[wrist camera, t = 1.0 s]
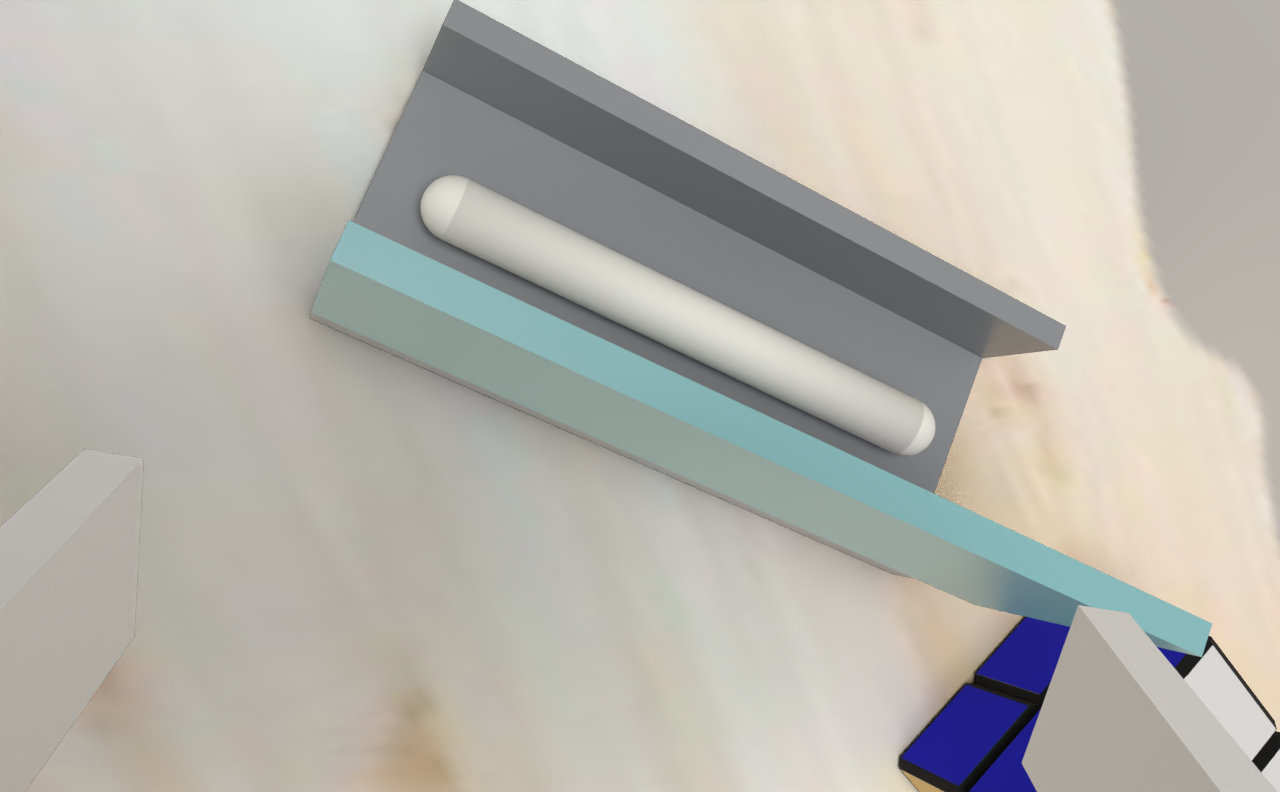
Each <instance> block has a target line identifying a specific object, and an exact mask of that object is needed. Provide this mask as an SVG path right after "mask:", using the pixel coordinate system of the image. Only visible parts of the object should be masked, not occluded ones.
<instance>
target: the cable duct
mask: <svg viewBox="0 0 1280 792" xmlns="http://www.w3.org/2000/svg"><path fill="white" fill-rule="evenodd" d="M448 175H458V176H463V177H465V178H468V179H470V180H472V181H474V182H476V183H478V184H480V185H482V186H484V187H486V188H488V189H490V190H493V191H495V192H497V193H499V194H501V195H503V196H505V197H507V198H509V199H511V200H513V201H515V202H517V203H519V204H521V205H523V206H525V207H527V208H529V209H531V210H533V211H535V212H537V213H539V214H541V215H543V216H545V217H547V218H549V219H551V220H553V221H556V222H558V223H560V224H562V225H564V226H566V227H568V228H570V229H572V230H574V231H576V232H578V233H580V234H582V235H584V236H586V237H588V238H590V239H592V240H594V241H596V242H598V243H600V244H602V245H604V246H606V247H608V248H610V249H612V250H614V251H616V252H619V253H621V254H623V255H625V256H627V257H629V258H631V259H633V260H635V261H637V262H639V263H641V264H643V265H645V266H647V267H649V268H651V269H653V270H655V271H657V272H659V273H661V274H663V275H665V276H667V277H669V278H671V279H673V280H675V281H677V282H679V283H682V284H684V285H686V286H688V287H690V288H692V289H694V290H696V291H698V292H700V293H702V294H704V295H706V296H708V297H710V298H712V299H714V300H716V301H718V302H720V303H722V304H724V305H726V306H728V307H730V308H732V309H734V310H736V311H738V312H740V313H742V314H745V315H747V316H749V317H751V318H753V319H755V320H757V321H759V322H761V323H763V324H765V325H767V326H769V327H771V328H773V329H775V330H777V331H779V332H781V333H783V334H785V335H787V336H789V337H791V338H793V339H795V340H797V341H799V342H801V343H803V344H805V345H808V346H810V347H812V348H814V349H816V350H818V351H820V352H822V353H824V354H826V355H828V356H830V357H832V358H834V359H836V360H838V361H840V362H842V363H844V364H846V365H848V366H850V367H852V368H854V369H856V370H858V371H860V372H862V373H864V374H866V375H868V376H871V377H873V378H875V379H877V380H879V381H881V382H883V383H885V384H887V385H889V386H891V387H893V388H895V389H897V390H899V391H901V392H903V393H905V394H907V395H909V396H911V397H913V398H915V399H917V400H919V401H921V402H922V403H924V404H925V405H926V406H927V407H928V408H929V409H930V411H931V412H932V414H933V416H934V420H935V434H934V437H933V439H932V441H931V443H930V444H929V446H928V447H927V448H926V449H924V450H923V451H921V452H920V453H917V454H915V455H910V456H901V455H896V454H894V453H891V452H889V451H887V450H885V449H883V448H881V447H879V446H876V445H874V444H872V443H870V442H868V441H866V440H864V439H862V438H860V437H857V436H855V435H853V434H851V433H849V432H847V431H845V430H843V429H841V428H838V427H836V426H834V425H832V424H830V423H828V422H826V421H824V420H821V419H819V418H817V417H815V416H813V415H811V414H809V413H807V412H805V411H802V410H800V409H798V408H796V407H794V406H792V405H790V404H788V403H786V402H783V401H781V400H779V399H777V398H775V397H773V396H771V395H769V394H767V393H764V392H762V391H760V390H758V389H756V388H754V387H752V386H750V385H748V384H745V383H743V382H741V381H739V380H737V379H735V378H733V377H731V376H729V375H726V374H724V373H722V372H720V371H718V370H716V369H714V368H712V367H710V366H707V365H705V364H703V363H701V362H699V361H697V360H695V359H693V358H691V357H688V356H686V355H684V354H682V353H680V352H678V351H676V350H674V349H671V348H669V347H667V346H665V345H663V344H661V343H659V342H657V341H655V340H652V339H650V338H648V337H646V336H644V335H642V334H640V333H638V332H636V331H633V330H631V329H629V328H627V327H625V326H623V325H621V324H619V323H617V322H614V321H612V320H610V319H608V318H606V317H604V316H602V315H600V314H598V313H595V312H593V311H591V310H589V309H587V308H585V307H583V306H581V305H579V304H576V303H574V302H572V301H570V300H568V299H566V298H564V297H562V296H560V295H557V294H555V293H553V292H551V291H549V290H547V289H545V288H543V287H541V286H538V285H536V284H534V283H532V282H530V281H528V280H526V279H524V278H522V277H519V276H517V275H515V274H513V273H511V272H509V271H507V270H505V269H502V268H500V267H498V266H496V265H494V264H492V263H490V262H488V261H486V260H483V259H481V258H479V257H477V256H475V255H473V254H471V253H469V252H467V251H464V250H462V249H460V248H458V247H456V246H454V245H452V244H450V243H448V242H445V241H443V240H441V239H439V238H438V237H436V236H434V235H433V234H432V233H431V232H430V231H429V230H428V228H427V227H426V226H425V224H424V222H423V220H422V216H421V208H420V206H421V199H422V197H423V194H424V192H425V190H426V189H427V187H428V186H429V185H430V184H431V183H432V182H434V181H435V180H437V179H439V178H441V177H444V176H448ZM354 223H356V224H358V225H360V226H362V227H364V228H367V229H369V230H371V231H373V232H375V233H377V234H379V235H381V236H384V237H386V238H388V239H390V240H392V241H394V242H396V243H399V244H401V245H403V246H405V247H407V248H409V249H411V250H414V251H416V252H418V253H420V254H422V255H424V256H426V257H429V258H431V259H433V260H435V261H437V262H439V263H441V264H444V265H446V266H448V267H450V268H452V269H454V270H456V271H459V272H461V273H463V274H465V275H467V276H469V277H471V278H474V279H476V280H478V281H480V282H482V283H484V284H486V285H488V286H491V287H493V288H495V289H497V290H499V291H501V292H503V293H506V294H508V295H510V296H512V297H514V298H516V299H518V300H521V301H523V302H525V303H527V304H529V305H531V306H533V307H536V308H538V309H540V310H542V311H544V312H546V313H548V314H551V315H553V316H555V317H557V318H559V319H561V320H563V321H566V322H568V323H570V324H572V325H574V326H576V327H578V328H580V329H583V330H585V331H587V332H589V333H591V334H593V335H595V336H598V337H600V338H602V339H604V340H606V341H608V342H610V343H613V344H615V345H617V346H619V347H621V348H623V349H625V350H628V351H630V352H632V353H634V354H636V355H638V356H640V357H643V358H645V359H647V360H649V361H651V362H653V363H655V364H658V365H660V366H662V367H664V368H666V369H668V370H670V371H673V372H675V373H677V374H679V375H681V376H683V377H685V378H687V379H690V380H692V381H694V382H696V383H698V384H700V385H702V386H705V387H707V388H709V389H711V390H713V391H715V392H717V393H720V394H722V395H724V396H726V397H728V398H730V399H732V400H735V401H737V402H739V403H741V404H743V405H745V406H747V407H750V408H752V409H754V410H756V411H758V412H760V413H762V414H765V415H767V416H769V417H771V418H773V419H775V420H777V421H779V422H782V423H784V424H786V425H788V426H790V427H792V428H794V429H797V430H799V431H801V432H803V433H805V434H807V435H809V436H812V437H814V438H816V439H818V440H820V441H822V442H824V443H827V444H829V445H831V446H833V447H835V448H837V449H839V450H842V451H844V452H846V453H848V454H850V455H852V456H854V457H857V458H859V459H861V460H863V461H865V462H867V463H869V464H872V465H874V466H876V467H878V468H880V469H882V470H884V471H886V472H889V473H891V474H893V475H895V476H897V477H899V478H901V479H904V480H906V481H908V482H910V483H912V484H914V485H916V486H919V487H921V488H923V489H925V490H927V491H929V492H931V493H934V492H935V489H936V486H937V484H938V481H939V478H940V475H941V472H942V470H943V467H944V464H945V461H946V458H947V456H948V453H949V450H950V447H951V444H952V442H953V439H954V436H955V433H956V430H957V428H958V425H959V422H960V419H961V416H962V413H963V411H964V408H965V405H966V402H967V399H968V397H969V394H970V391H971V388H972V385H973V383H974V380H975V377H976V374H977V371H978V369H979V366H980V363H981V360H982V358H987V357H996V356H1005V355H1014V354H1022V353H1031V352H1040V351H1048V350H1057V349H1058V348H1059V345H1060V342H1061V339H1062V336H1063V333H1064V330H1065V328H1066V326H1065V325H1063V324H1061V323H1059V322H1057V321H1055V320H1054V319H1052V318H1050V317H1048V316H1046V315H1044V314H1042V313H1041V312H1039V311H1037V310H1035V309H1033V308H1031V307H1029V306H1027V305H1026V304H1024V303H1022V302H1020V301H1018V300H1016V299H1014V298H1013V297H1011V296H1009V295H1007V294H1005V293H1003V292H1001V291H999V290H998V289H996V288H994V287H992V286H990V285H988V284H986V283H985V282H983V281H981V280H979V279H977V278H975V277H973V276H972V275H970V274H968V273H966V272H964V271H962V270H960V269H958V268H957V267H955V266H953V265H951V264H949V263H947V262H945V261H944V260H942V259H940V258H938V257H936V256H934V255H932V254H930V253H929V252H927V251H925V250H923V249H921V248H919V247H917V246H916V245H914V244H912V243H910V242H908V241H906V240H904V239H902V238H901V237H899V236H897V235H895V234H893V233H891V232H889V231H888V230H886V229H884V228H882V227H880V226H878V225H876V224H874V223H873V222H871V221H869V220H867V219H865V218H863V217H861V216H860V215H858V214H856V213H854V212H852V211H850V210H848V209H847V208H845V207H843V206H841V205H839V204H837V203H835V202H833V201H832V200H830V199H828V198H826V197H824V196H822V195H820V194H819V193H817V192H815V191H813V190H811V189H809V188H807V187H805V186H804V185H802V184H800V183H798V182H796V181H794V180H792V179H791V178H789V177H787V176H785V175H783V174H781V173H779V172H777V171H776V170H774V169H772V168H770V167H768V166H766V165H764V164H763V163H761V162H759V161H757V160H755V159H753V158H751V157H749V156H748V155H746V154H744V153H742V152H740V151H738V150H736V149H735V148H733V147H731V146H729V145H727V144H725V143H723V142H721V141H720V140H718V139H716V138H714V137H712V136H710V135H708V134H707V133H705V132H703V131H701V130H699V129H697V128H695V127H694V126H692V125H690V124H688V123H686V122H684V121H682V120H680V119H679V118H677V117H675V116H673V115H671V114H669V113H667V112H666V111H664V110H662V109H660V108H658V107H656V106H654V105H652V104H651V103H649V102H647V101H645V100H643V99H641V98H639V97H638V96H636V95H634V94H632V93H630V92H628V91H626V90H624V89H623V88H621V87H619V86H617V85H615V84H613V83H611V82H610V81H608V80H606V79H604V78H602V77H600V76H598V75H596V74H595V73H593V72H591V71H589V70H587V69H585V68H583V67H582V66H580V65H578V64H576V63H574V62H572V61H570V60H569V59H567V58H565V57H563V56H561V55H559V54H557V53H555V52H554V51H552V50H550V49H548V48H546V47H544V46H542V45H541V44H539V43H537V42H535V41H533V40H531V39H529V38H527V37H526V36H524V35H522V34H520V33H518V32H516V31H514V30H513V29H511V28H509V27H507V26H505V25H503V24H501V23H499V22H498V21H496V20H494V19H492V18H490V17H488V16H486V15H485V14H483V13H481V12H479V11H477V10H475V9H473V8H471V7H470V6H468V5H466V4H464V3H462V2H460V1H458V0H454V1H453V3H452V5H451V7H450V10H449V12H448V14H447V16H446V18H445V20H444V23H443V25H442V27H441V29H440V32H439V34H438V36H437V39H436V41H435V43H434V46H433V48H432V50H431V53H430V55H429V57H428V60H427V62H426V64H425V66H424V69H423V71H422V73H421V75H420V78H419V80H418V82H417V84H416V86H415V89H414V91H413V93H412V95H411V97H410V99H409V102H408V104H407V106H406V108H405V110H404V113H403V115H402V117H401V119H400V121H399V123H398V126H397V128H396V130H395V132H394V134H393V137H392V139H391V141H390V143H389V145H388V147H387V150H386V152H385V154H384V156H383V158H382V161H381V163H380V165H379V167H378V169H377V171H376V174H375V176H374V178H373V180H372V182H371V185H370V187H369V189H368V191H367V193H366V195H365V198H364V200H363V202H362V204H361V206H360V209H359V211H358V213H357V215H356V217H355V219H354ZM310 319H313V320H315V321H317V322H319V323H322V324H324V325H326V326H329V327H331V328H333V329H335V330H338V331H340V332H342V333H345V334H347V335H349V336H351V337H354V338H356V339H358V340H360V341H363V342H365V343H367V344H370V345H372V346H374V347H376V348H379V349H381V350H383V351H386V352H388V353H390V354H392V355H395V356H397V357H399V358H401V359H404V360H406V361H408V362H411V363H413V364H415V365H417V366H420V367H422V368H424V369H427V370H429V371H431V372H433V373H436V374H438V375H440V376H442V377H445V378H447V379H449V380H452V381H454V382H456V383H458V384H461V385H463V386H465V387H468V388H470V389H472V390H474V391H477V392H479V393H481V394H484V395H486V396H488V397H490V398H493V399H495V400H497V401H499V402H502V403H504V404H506V405H509V406H511V407H513V408H515V409H518V410H520V411H522V412H525V413H527V414H529V415H531V416H534V417H536V418H538V419H540V420H543V421H545V422H547V423H550V424H552V425H554V426H556V427H559V428H561V429H563V430H566V431H568V432H570V433H572V434H575V435H577V436H579V437H581V438H584V439H586V440H588V441H591V442H593V443H595V444H597V445H600V446H602V447H604V448H607V449H609V450H611V451H613V452H616V453H618V454H620V455H622V456H625V457H627V458H629V459H632V460H634V461H636V462H638V463H641V464H643V465H645V466H648V467H650V468H652V469H654V470H657V471H659V472H661V473H663V474H666V475H668V476H670V477H673V478H675V479H677V480H679V481H682V482H684V483H686V484H689V485H691V486H693V487H695V488H698V489H700V490H702V491H704V492H707V493H709V494H711V495H714V496H716V497H718V498H720V499H723V500H725V501H727V502H730V503H732V504H734V505H736V506H739V507H741V508H743V509H745V510H748V511H750V512H752V513H755V514H757V515H759V516H761V517H764V518H766V519H768V520H771V521H773V522H775V523H777V524H780V525H782V526H784V527H787V528H789V529H791V530H793V531H796V532H798V533H800V534H802V535H805V536H807V537H809V538H812V539H814V540H816V541H818V542H821V543H823V544H825V545H828V546H830V547H832V548H834V549H837V550H839V551H841V552H843V553H846V554H848V555H850V556H853V557H855V558H857V559H859V560H862V561H864V562H866V563H869V564H871V565H873V566H875V567H878V568H880V569H882V570H884V571H887V572H889V573H891V574H895V575H900V576H905V577H909V578H913V577H910V576H908V575H906V574H904V573H901V572H899V571H897V570H895V569H892V568H890V567H888V566H886V565H883V564H881V563H879V562H876V561H874V560H872V559H870V558H867V557H865V556H863V555H861V554H858V553H856V552H854V551H851V550H849V549H847V548H845V547H842V546H840V545H838V544H836V543H833V542H831V541H829V540H826V539H824V538H822V537H820V536H817V535H815V534H813V533H811V532H808V531H806V530H804V529H802V528H799V527H797V526H795V525H792V524H790V523H788V522H786V521H783V520H781V519H779V518H777V517H774V516H772V515H770V514H767V513H765V512H763V511H761V510H758V509H756V508H754V507H752V506H749V505H747V504H745V503H742V502H740V501H738V500H736V499H733V498H731V497H729V496H727V495H724V494H722V493H720V492H718V491H715V490H713V489H711V488H708V487H706V486H704V485H702V484H699V483H697V482H695V481H693V480H690V479H688V478H686V477H683V476H681V475H679V474H677V473H674V472H672V471H670V470H668V469H665V468H663V467H661V466H658V465H656V464H654V463H652V462H649V461H647V460H645V459H643V458H640V457H638V456H636V455H634V454H631V453H629V452H627V451H624V450H622V449H620V448H618V447H615V446H613V445H611V444H609V443H606V442H604V441H602V440H599V439H597V438H595V437H593V436H590V435H588V434H586V433H584V432H581V431H579V430H577V429H574V428H572V427H570V426H568V425H565V424H563V423H561V422H559V421H556V420H554V419H552V418H550V417H547V416H545V415H543V414H540V413H538V412H536V411H534V410H531V409H529V408H527V407H525V406H522V405H520V404H518V403H515V402H513V401H511V400H509V399H506V398H504V397H502V396H500V395H497V394H495V393H493V392H490V391H488V390H486V389H484V388H481V387H479V386H477V385H475V384H472V383H470V382H468V381H466V380H463V379H461V378H459V377H456V376H454V375H452V374H450V373H447V372H445V371H443V370H441V369H438V368H436V367H434V366H431V365H429V364H427V363H425V362H422V361H420V360H418V359H416V358H413V357H411V356H409V355H406V354H404V353H402V352H400V351H397V350H395V349H393V348H391V347H388V346H386V345H384V344H382V343H379V342H377V341H375V340H372V339H370V338H368V337H366V336H363V335H361V334H359V333H357V332H354V331H352V330H350V329H347V328H345V327H343V326H341V325H338V324H336V323H334V322H332V321H329V320H327V319H325V318H322V317H320V316H318V315H316V314H313V313H311V316H310ZM914 579H915V578H914Z"/></svg>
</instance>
